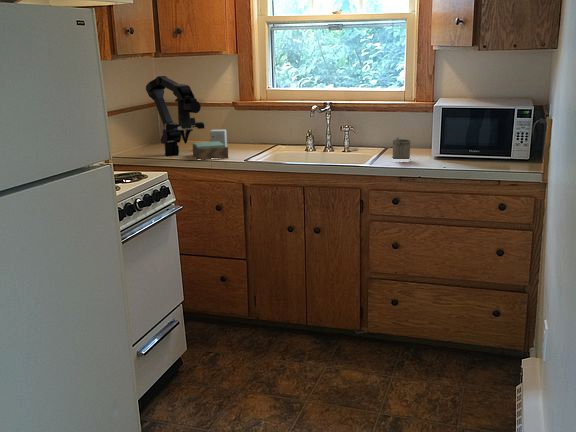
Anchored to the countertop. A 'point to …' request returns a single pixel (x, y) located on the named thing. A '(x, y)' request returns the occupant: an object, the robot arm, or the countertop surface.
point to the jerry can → (401, 149)
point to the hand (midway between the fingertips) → (185, 143)
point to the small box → (218, 136)
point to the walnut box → (210, 152)
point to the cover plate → (208, 145)
